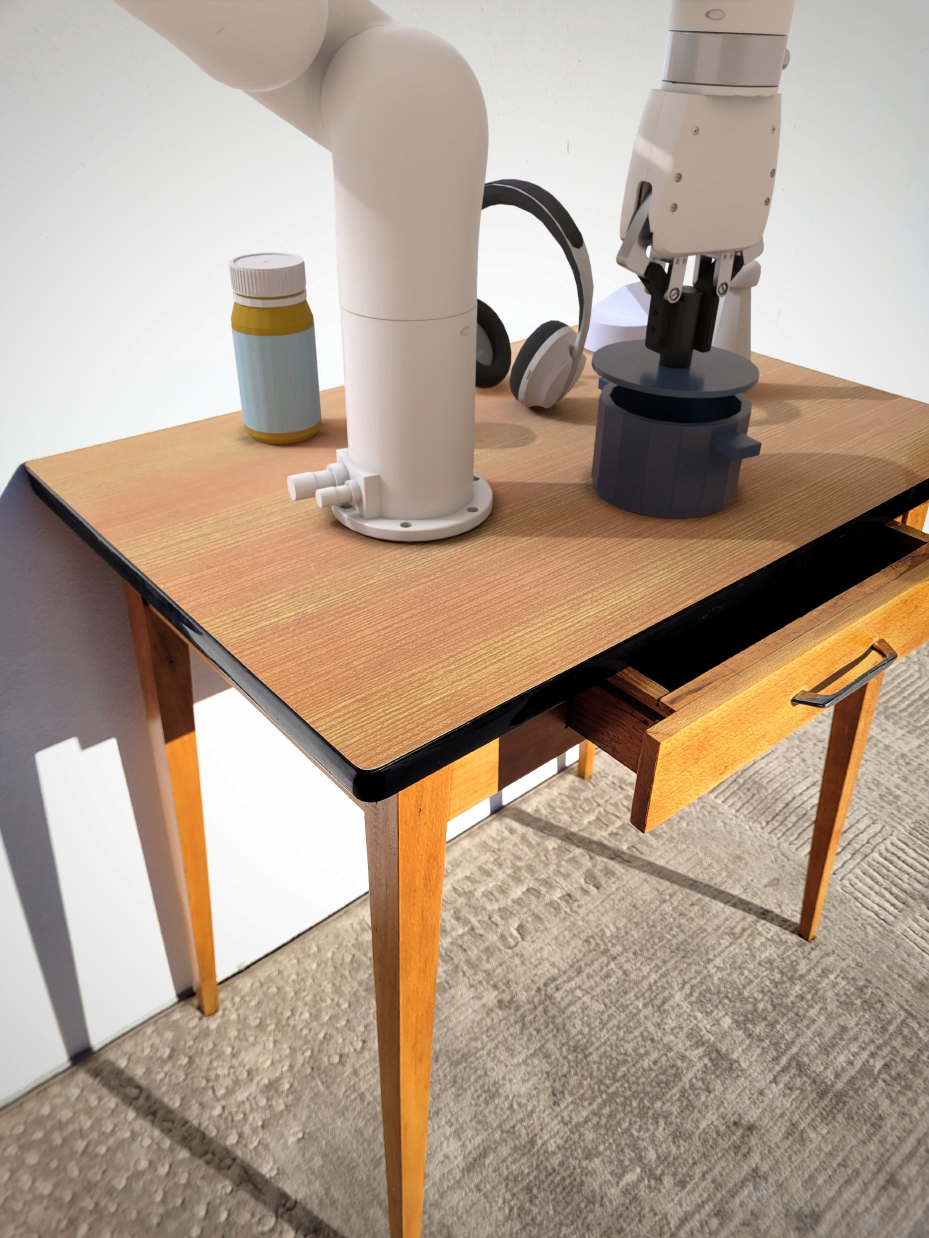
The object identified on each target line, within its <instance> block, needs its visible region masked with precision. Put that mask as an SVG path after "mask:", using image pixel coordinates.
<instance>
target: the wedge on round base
mask: <svg viewBox="0 0 929 1238" xmlns="http://www.w3.org/2000/svg"><path fill="white" fill-rule="evenodd" d="M650 300H651V295H649V294H647V293H646V292H645V290H644V285H643V283H642V282H641V280H640V281H636V282H632V283H628V284H625V285H623V286H622V287H620V288H619V289H617V290H615V291H614V292H612V293H611V294H609V295H608V296H607V297H605V298H604V299H602V300H600V301H599V302H597V303H596V304H594V305H592V309H591V318H590V326H589V330H588V334H587V338H586V342H585V346H584V349H585V350H588V351H590V352H592V353H595V352H596V351H597V350H598V349H600V348H602V347H604V346H606V345H609V344H613V343H617V342H622V341H630V340H643V339H645V338H646V329H647V321H648V314H649V307H650Z"/></svg>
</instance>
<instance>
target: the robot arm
mask: <svg viewBox="0 0 929 1238" xmlns="http://www.w3.org/2000/svg"><path fill="white" fill-rule="evenodd" d="M111 2H113V3H114V4H116V5H117V6H118V7H120V8H122V9H123V10H124V11H126V12H127V13H128V14H130V15H131V16H133V17H134V18H135V19H137V20H138V21H140V22H141V23H142V24H144V25H145V26H146V27H148V28H150V29H151V30H152V31H154V32H155V33H156V34H158V35H159V36H161V37H162V38H163V39H164V40H166V41H167V42H169V43H170V44H171V45H173V46H174V47H175V48H177V49H178V51H180V52H181V53H183V54H184V55H185V56H186V57H187V58H188V59H189V60H190V61H191V62H192V63H193V64H195V65H196V66H197V67H198V68H199V70H201V71H202V72H204V73H205V74H206V75H207V76H209V77H210V78H212V79H213V80H215V81H217V82H218V83H220V84H223V85H225V86H227V87H230V88H232V89H235V90H240V91H241V92H243V93H245V94H246V95H247V96H249V98H251V99H253V100H255V101H256V102H257V103H258V104H260V105H262V106H263V107H264V108H266V109H268V110H269V111H270V112H272V113H273V114H275V115H276V116H277V117H278V118H280V119H281V120H283V121H285V122H286V123H288V124H289V125H291V126H292V127H293V128H295V130H296V129H297V131H299V132H301V133H302V134H304V135H305V136H307V137H308V138H309V139H311V140H313V141H314V142H315V143H317V144H318V145H319V146H321V147H323V148H324V149H326V150H327V151H328V152H330V153H331V156H332V157H331V159H332V172H333V195H334V222H335V223H334V225H335V226H334V229H335V231H334V232H335V253H336V254H335V255H336V274H337V275H336V276H337V292H338V304H339V312H340V313H339V314H340V315H339V316H340V329H341V331H340V333H341V347H342V348H341V349H342V364H343V365H342V366H343V381H344V397H345V401H344V402H345V415H346V416H345V417H346V433H347V434H346V435H347V447H344V448H338V449H336V450H335V455H336V462H333V463H329V464H328V463H327V464H326V467H325V469H322V470H317V471H311V470H310V471H306V472H301V473H296V474H290V475H288V476H287V478H286V486H287V490H288V494H289V496H290V498H291V500H292V501H293V502H299V501H303V500H307V499H313V498H315V499H316V500H315V501H316V504H317V506H318V508H319V509H325V508H329V507H331V511H332V513H333V516H334V517H335V518H336V519H337V520H338V521H339V522H340V523H341V525H343V526H345V527H346V528H348V529H350V530H351V531H354V532H356V533H359V534H361V535H363V536H366V537H371V538H374V539H379V540H385V541H393V542H411V543H412V542H428V541H429V542H430V541H437V540H443V539H446V538H451V537H455V536H458V535H460V534H463V533H466V532H469V531H471V530H472V529H474V528H475V527H478V526H479V525H480V524H482V523H483V522H484V521H485V520H487V518H488V517H489V515H490V514H491V512H492V510H493V504H494V503H493V502H494V499H493V498H494V496H493V494H494V493H493V490H492V487H491V485H490V484H489V483H488V482H487V480H486V479H484V478H483V477H482V476H481V475H479V474H478V473H476V472H474V465H475V464H474V462H475V423H476V422H475V420H476V419H475V418H476V417H475V416H476V415H475V414H476V388H475V378H476V332H477V298H478V270H479V269H478V267H479V247H480V246H479V245H480V230H481V229H480V228H481V220H482V219H481V217H482V211H481V209H482V201H483V193H484V186H485V183H486V179H487V178H486V177H487V169H488V158H489V141H490V139H489V137H490V135H489V134H490V133H489V131H490V130H489V119H488V111H487V106H486V100H485V97H484V93H483V90H482V88H481V85H480V83H479V80H478V77H477V76H476V73H475V72H474V70H473V68H472V67H471V65H470V63H469V62H468V61H467V59H466V58H465V57H464V56H463V54H462V53H461V52H460V51H459V50H458V49H457V48H456V47H455V46H454V45H453V44H452V43H450V42H449V41H447V40H446V39H445V38H443V37H441V36H440V35H438V34H436V33H434V32H432V31H430V30H427V29H424V28H419V27H416V26H415V27H414V26H407V25H406V26H405V25H403V24H402V23H401V22H400V21H398V20H397V19H395V17H393V16H391V15H390V14H389V13H388V12H387V11H385V9H383V8H381V6H380V5H378V4H376V3H375V2H374V1H373V0H111ZM795 3H796V0H671V4H670V12H669V18H668V28H667V29H668V31H667V35H666V45H665V51H664V59H663V60H664V61H663V68H662V73H661V74H662V75H661V81H660V88H650V90H649V93H648V95H647V98H646V101H645V104H644V106H643V109H642V113H641V117H640V120H639V123H638V127H637V131H636V134H635V139H634V143H633V147H632V151H631V157H630V161H629V166H628V171H627V177H626V180H625V181H626V182H625V187H624V193H623V197H622V207H621V213H620V219H619V220H620V221H619V238H620V241H621V243H622V244H621V245H620V248H619V250H618V251H617V253H616V256H615V262H616V264H617V265H618V266H620V267H622V268H623V269H625V270H627V271H629V272H631V273H632V274H635V275H636V277H638V279H639V280H640V281H641V282H642V283H643V285H644V290H645V292H646V293H647V294H649V295H651V300H650V307H649V314H648V321H647V329H646V338H645V346H646V348H647V349H650V350H652V351H654V352H656V353H658V354H661V355H663V356H665V357H667V358H671V357H675V356H676V355H677V354H678V351H679V344H680V338H681V332H682V326H683V320H684V313H685V303H684V302H681V301H679V298H680V296H681V292H682V286H683V285H684V281H685V275H686V270H687V265H688V261H689V257H693V256H694V257H695V260H694V267H693V274H692V286H694V287H698V288H700V289H702V290H703V296H702V302H701V308H700V314H699V320H698V326H697V332H696V338H695V343H694V350H696V351H699V352H701V353H704V352H709V351H710V350H711V345H712V339H713V334H714V328H715V323H716V317H717V311H718V306H719V300H720V299H719V297H724V296H725V295H726V294H727V293H728V291H729V288H730V282H731V281H732V280H733V278H734V277H735V276H736V275H737V274H738V273H739V271H740V270H741V269H742V267H743V265H744V266H745V265H747V264H748V263H750V262H751V261H753V260H756V259H757V258H759V257H760V256H762V254H763V253H764V250H765V244H764V233H765V230H766V227H767V223H768V219H769V215H770V211H771V206H772V201H773V194H774V190H775V189H774V188H775V184H776V175H777V169H778V160H779V151H780V141H781V140H780V139H781V128H782V127H781V125H782V93H779V88H780V82H781V77H782V72H783V71H784V70H785V69H787V68H788V66H789V64H790V62H791V61H790V60H791V52H790V50H789V49H788V48H787V45H788V41H789V35H790V30H791V24H792V21H793V20H792V19H793V14H794V10H795ZM649 247H650V251H649V255H648V256H647V250H648V248H649ZM667 264H668V266H667V271H666V270H665V269H666V265H667Z"/></svg>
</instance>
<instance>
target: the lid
mask: <svg viewBox="0 0 929 1238" xmlns="http://www.w3.org/2000/svg"><path fill="white" fill-rule="evenodd" d="M702 296H703V290H702V289H700V288H698V287H694V286H693V285H688V284H687V285H686V284H685V285H684V284H683V286H682V292H681V296H680V298H679V301H681V302H684V303H685V313H684V320H683V326H682V332H681V338H680V344H679V351H678V354H677V355H676V356H675V357H671V358H667V357H665V356H663V355H661V354H658V353H656V352H654V351H652V350H650V349H647V348H646V346H645V339H643V340H630V341H622V342H617V343H613V344H609V345H606V346H604V347H602V348H600V349H598V350H597V351H596V352H593V354H592V357H591V368H592V369H593V371H594V372H595V374H597V375H598V376H599V377H602V378H604V379H606V380H608V381H610V382H612V383H614V384H617V385H619V386H622V387H625V388H628V389H632V390H636V391H640V392H644V393H649V394H654V395H661V396H669V397H679V398H716V397H725V396H731V395H736V394H740V393H743V394H744V393H747V392H748V391H750V390H752V389H753V388H755V387H756V385H758V382H759V379H760V370H759V368H758V366H757V365H756V364H755V363H754V362H752V360H751V361H750V360H748V359H746V358H744V357H742V356H740V355H738V354H736V353H733V352H730V351H727V350H724V349H721V348H717V347H713V346H711V350H710V351H709V352H704V353H701V352H699V351H696V350H694V343H695V338H696V332H697V326H698V320H699V314H700V308H701V302H702Z"/></svg>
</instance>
